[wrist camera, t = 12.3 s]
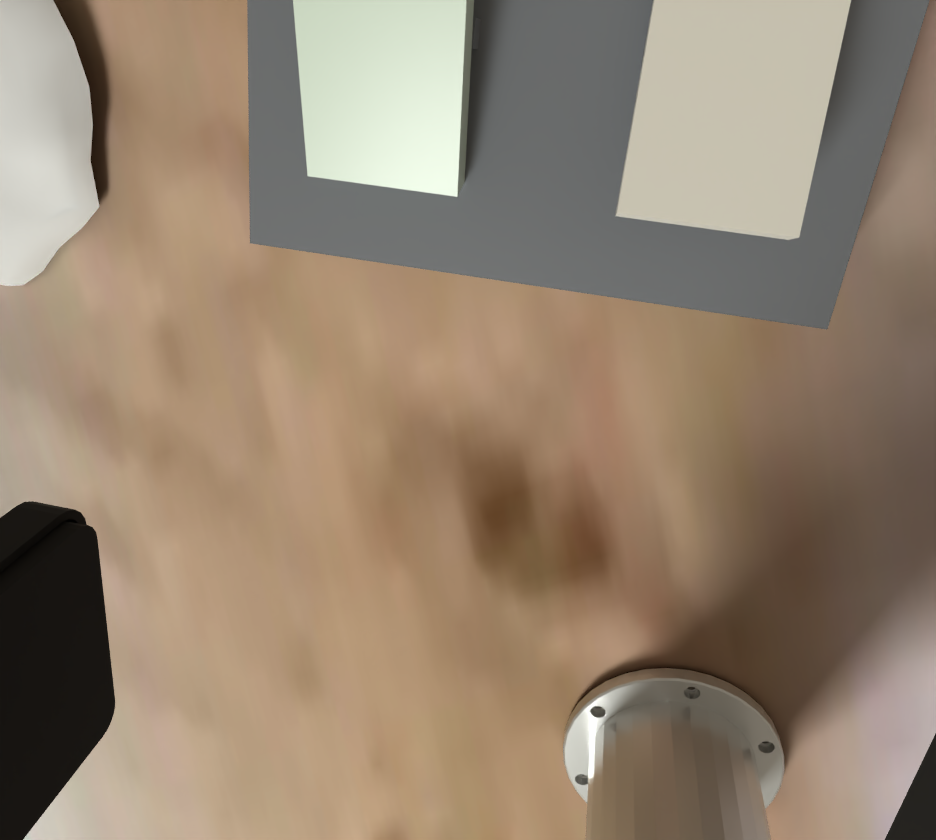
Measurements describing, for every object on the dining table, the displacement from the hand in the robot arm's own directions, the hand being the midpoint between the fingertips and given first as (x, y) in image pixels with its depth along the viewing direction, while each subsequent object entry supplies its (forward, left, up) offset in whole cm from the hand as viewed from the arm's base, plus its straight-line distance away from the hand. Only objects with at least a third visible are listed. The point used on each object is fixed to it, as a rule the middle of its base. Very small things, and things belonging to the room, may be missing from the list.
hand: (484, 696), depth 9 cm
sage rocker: (+7, +8, -24) cm, 26 cm away
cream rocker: (+7, -4, -24) cm, 25 cm away
